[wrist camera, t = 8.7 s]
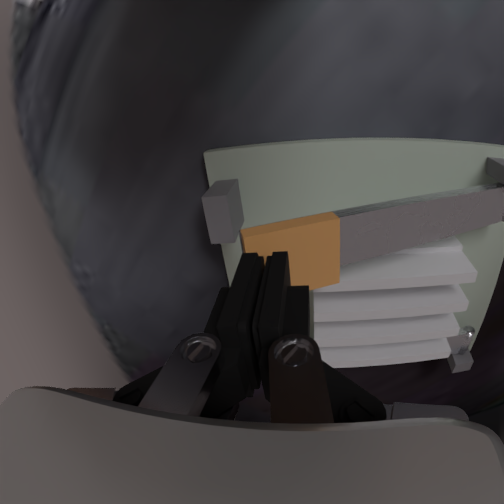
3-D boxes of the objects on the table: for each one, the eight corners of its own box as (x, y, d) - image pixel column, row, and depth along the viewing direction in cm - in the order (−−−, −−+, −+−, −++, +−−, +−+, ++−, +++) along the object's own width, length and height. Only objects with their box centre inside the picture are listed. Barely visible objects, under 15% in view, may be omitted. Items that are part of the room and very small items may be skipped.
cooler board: (514, 146, 16) (567, 173, 10) (467, 344, 25) (486, 392, 20) (207, 149, 20) (170, 177, 15) (248, 357, 30) (236, 411, 24)
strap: (504, 176, 15) (523, 184, 14) (498, 217, 17) (515, 228, 15) (236, 220, 13) (243, 238, 12) (246, 281, 15) (254, 303, 13)
